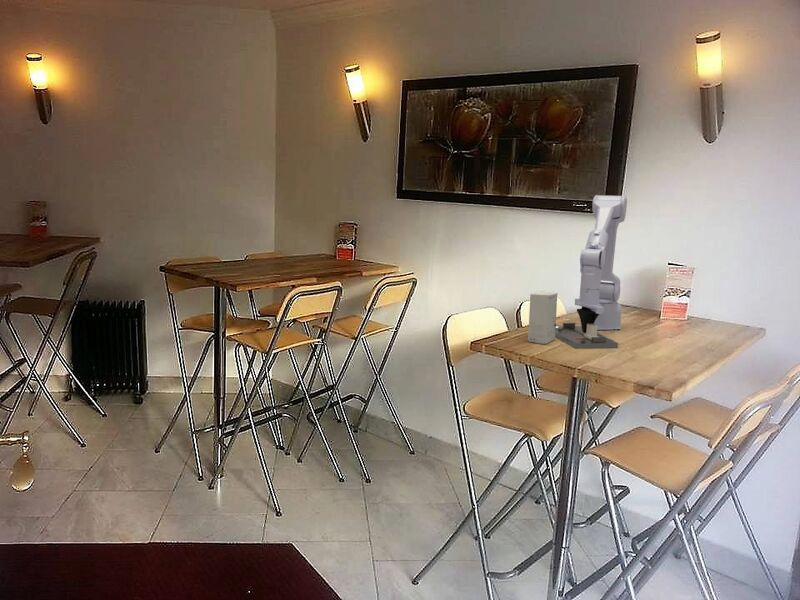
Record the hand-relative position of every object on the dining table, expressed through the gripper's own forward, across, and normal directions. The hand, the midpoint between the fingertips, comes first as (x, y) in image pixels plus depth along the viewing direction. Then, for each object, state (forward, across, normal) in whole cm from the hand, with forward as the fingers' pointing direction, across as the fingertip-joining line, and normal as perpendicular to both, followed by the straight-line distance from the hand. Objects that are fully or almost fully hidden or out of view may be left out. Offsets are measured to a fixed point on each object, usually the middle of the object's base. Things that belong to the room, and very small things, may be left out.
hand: (586, 332), depth 182 cm
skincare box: (+3, -1, -14) cm, 14 cm away
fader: (+1, +3, 0) cm, 3 cm away
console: (+3, -2, -1) cm, 4 cm away
